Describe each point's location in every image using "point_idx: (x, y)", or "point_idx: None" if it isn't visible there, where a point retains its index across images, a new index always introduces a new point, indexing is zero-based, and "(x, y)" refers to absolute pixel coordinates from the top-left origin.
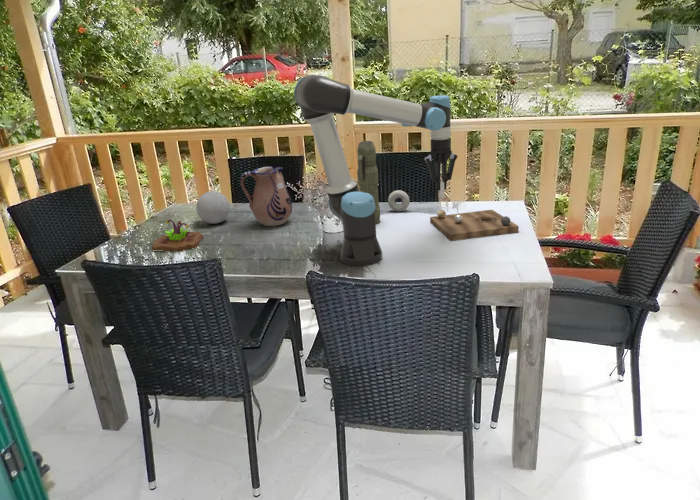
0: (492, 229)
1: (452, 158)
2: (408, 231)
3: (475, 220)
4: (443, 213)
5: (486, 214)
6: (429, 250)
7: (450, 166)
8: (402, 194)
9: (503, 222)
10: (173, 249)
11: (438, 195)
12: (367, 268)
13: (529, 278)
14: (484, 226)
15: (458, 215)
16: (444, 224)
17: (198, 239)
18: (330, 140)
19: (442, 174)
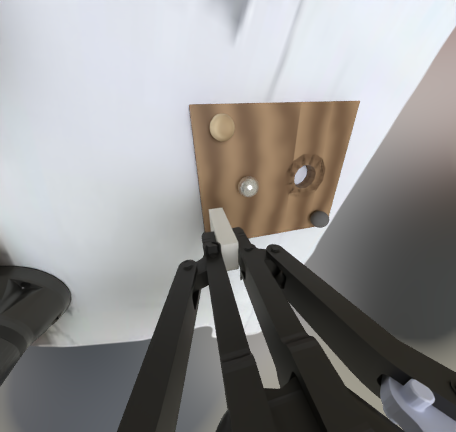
0: (284, 231)
1: (383, 408)
2: (120, 165)
3: (284, 176)
4: (225, 140)
5: (325, 139)
6: (161, 271)
7: (318, 328)
8: None
9: (312, 224)
10: None
11: (209, 212)
12: (51, 325)
13: (250, 330)
14: (280, 215)
15: (250, 192)
16: (212, 185)
17: None
18: None
19: (249, 281)
